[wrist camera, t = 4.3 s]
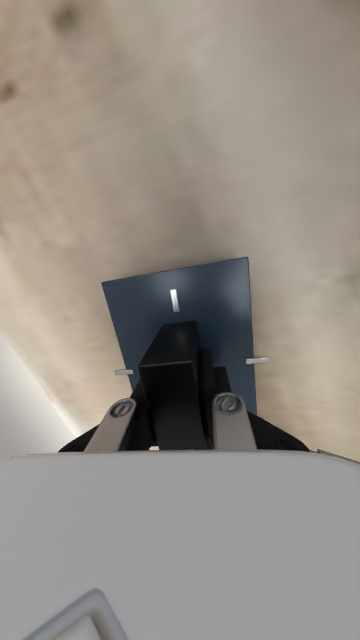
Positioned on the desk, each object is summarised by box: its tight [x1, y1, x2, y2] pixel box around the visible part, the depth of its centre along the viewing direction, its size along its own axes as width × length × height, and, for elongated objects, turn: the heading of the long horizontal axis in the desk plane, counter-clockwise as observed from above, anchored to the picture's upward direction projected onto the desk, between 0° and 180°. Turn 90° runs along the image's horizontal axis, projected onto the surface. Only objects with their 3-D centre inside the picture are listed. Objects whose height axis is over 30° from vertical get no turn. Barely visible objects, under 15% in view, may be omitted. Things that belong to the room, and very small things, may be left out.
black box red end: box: [137, 321, 211, 450], centre depth 10 cm, size 6×2×5 cm, turn 10°
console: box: [102, 257, 269, 416], centre depth 14 cm, size 13×11×3 cm
